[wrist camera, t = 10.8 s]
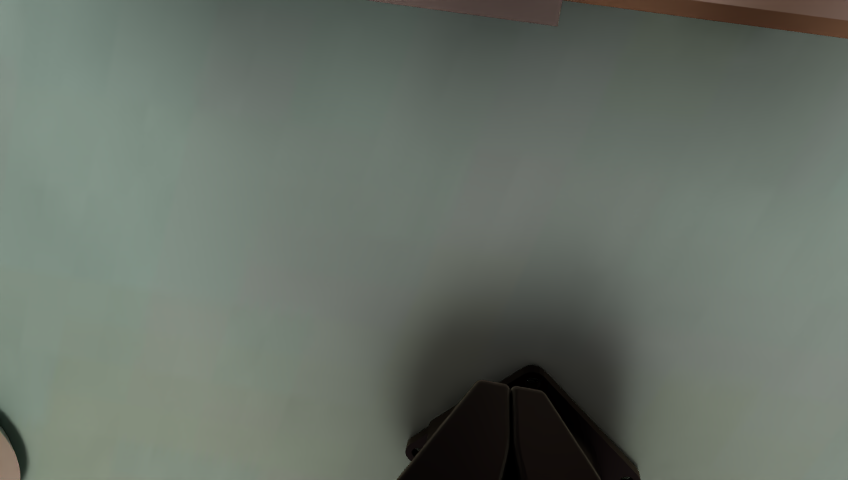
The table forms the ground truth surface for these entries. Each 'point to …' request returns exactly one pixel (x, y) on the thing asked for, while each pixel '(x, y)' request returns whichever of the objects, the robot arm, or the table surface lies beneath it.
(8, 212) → the table surface
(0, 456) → the can
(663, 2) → the slot board
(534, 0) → the tray
